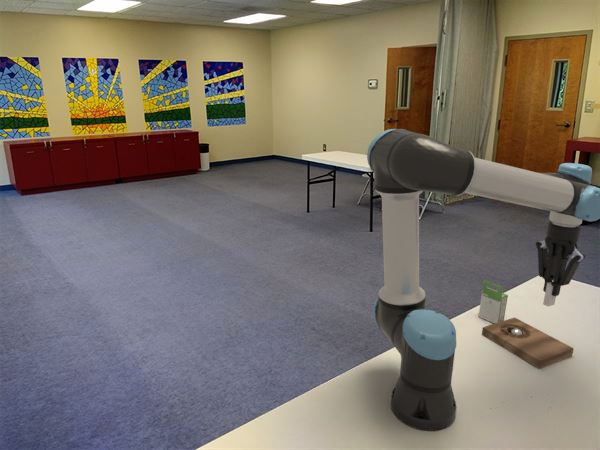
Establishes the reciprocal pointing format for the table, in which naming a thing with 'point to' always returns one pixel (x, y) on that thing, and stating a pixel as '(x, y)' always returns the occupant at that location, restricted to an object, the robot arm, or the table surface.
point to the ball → (516, 331)
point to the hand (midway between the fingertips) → (548, 304)
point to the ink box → (492, 303)
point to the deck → (528, 342)
